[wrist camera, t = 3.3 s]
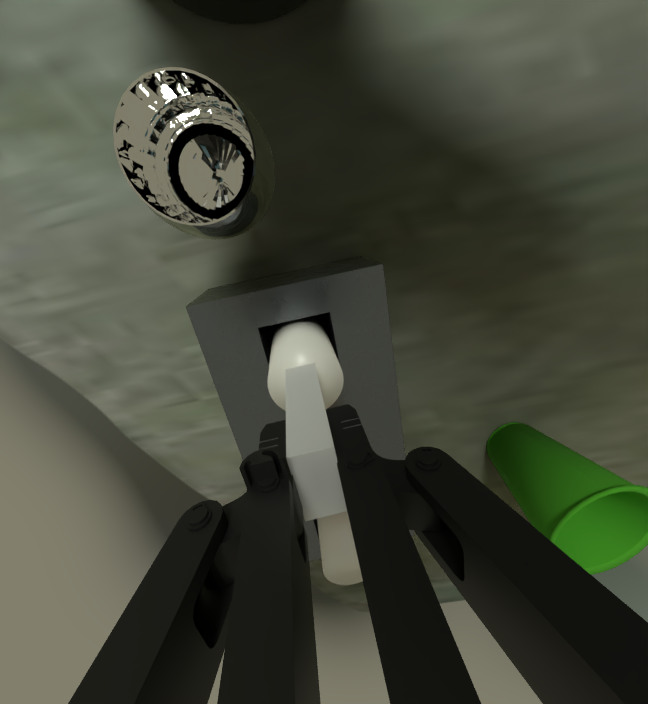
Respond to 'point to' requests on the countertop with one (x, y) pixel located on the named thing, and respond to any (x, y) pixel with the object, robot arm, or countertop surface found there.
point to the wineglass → (194, 153)
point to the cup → (571, 498)
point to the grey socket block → (344, 334)
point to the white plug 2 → (338, 550)
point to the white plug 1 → (303, 358)
